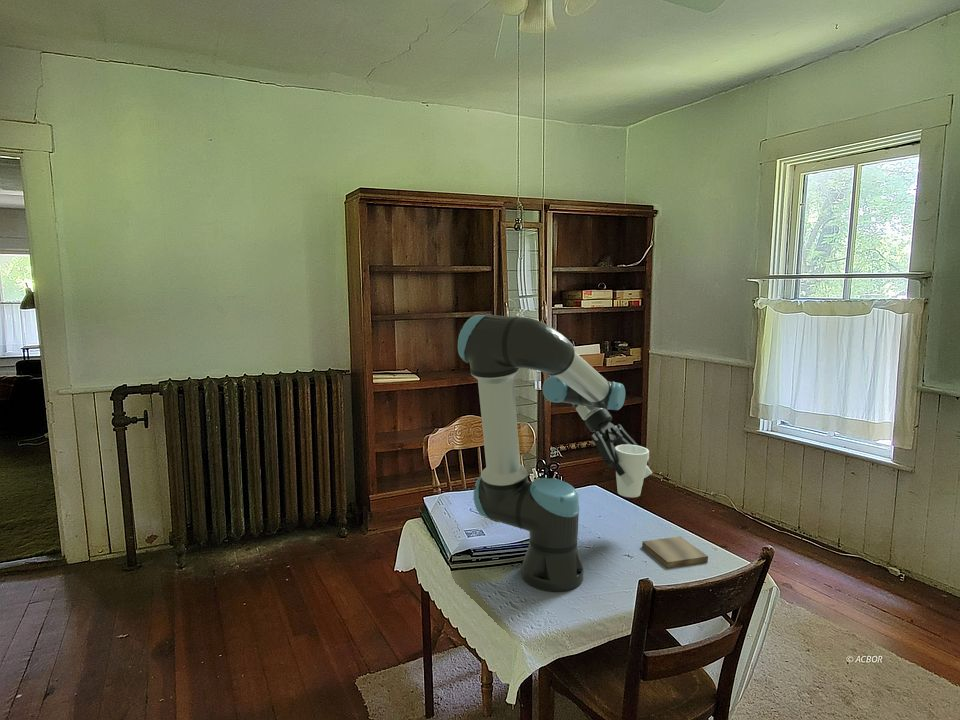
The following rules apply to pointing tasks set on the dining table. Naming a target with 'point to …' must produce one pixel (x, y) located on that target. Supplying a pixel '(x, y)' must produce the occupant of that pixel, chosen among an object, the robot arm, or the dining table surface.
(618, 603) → the dining table surface
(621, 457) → the foam cup
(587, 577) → the dining table surface
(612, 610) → the dining table surface
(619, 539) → the dining table surface
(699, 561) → the walnut coaster
